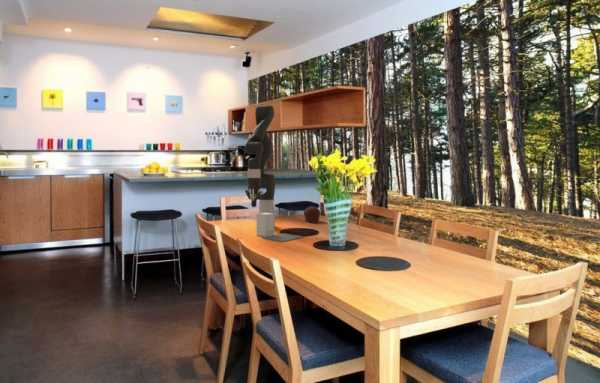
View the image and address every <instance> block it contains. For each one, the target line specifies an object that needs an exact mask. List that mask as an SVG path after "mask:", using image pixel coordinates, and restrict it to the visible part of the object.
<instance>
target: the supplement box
mask: <svg viewBox="0 0 600 383" xmlns="http://www.w3.org/2000/svg"><path fill="white" fill-rule="evenodd" d="M272 235H275V226H274V214H273V213H259V212H258V213H256V236H258V237H262V238H263V237H267V236H272Z"/></svg>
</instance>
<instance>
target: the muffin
mask: <svg viewBox="0 0 600 383" xmlns="http://www.w3.org/2000/svg"><path fill="white" fill-rule="evenodd" d="M303 214H304V222H306V223H311V224H312V223H315V224H316V223H318V222H319V221H320V215H321V210H320V209H319V208H318V207H316V206H307V207H306V208H305V209H304V211H303Z"/></svg>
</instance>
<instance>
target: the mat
mask: <svg viewBox="0 0 600 383" xmlns="http://www.w3.org/2000/svg"><path fill="white" fill-rule="evenodd" d="M302 238H304V236H303V235H297V234H290V233H284V232H282V233H278V234H274V235H272V236H267V237H263V236H262V239H264V240H268V241H275V242H280V243H285V242H286V243H287V242H291V241H294V240H299V239H302Z"/></svg>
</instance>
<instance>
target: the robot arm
mask: <svg viewBox="0 0 600 383" xmlns="http://www.w3.org/2000/svg"><path fill="white" fill-rule="evenodd" d="M254 113H255V114H254V115H255V117H254V118H255V124H256V125H255V127H254V129H253V130H252V134H251V136H250V137H249V138H248V140H247V142H245V144H244V151H245V153H246V154H247V155H255V157H251V158H249V159H248V160H247V173H246V174H247V178H246V179H247V182H246V183H247V189H245V190H244V192H245V195H246V196H247V199H248V200H250V202H251V203H250V206H251V207H252V208H256V207H257V203H258V214H259V213H273V214H274V227H275V226H276V211H275V210H274V209H275V203H274V202H275V200H274V199H275V193H276V192H275V190H276V178H275V175H274V174H273V173H265V169H266V165H267V162H268V161H269V159H270V157H271V155H272V152H273V151H272V150H273V149H272V148H273V147H272V146H273V145H272V140H271V138H270V136H269V134H267V130H268V129H269V127H270V125H271V123H272V121H273V119H274V117H275V109H274V107H273V105H270V104H265V105H263V104H262V105H261V104H259V105H256V107H255V110H254ZM261 189H266V190H265V192H264V191H263V190H261ZM257 201H258V202H257Z"/></svg>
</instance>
